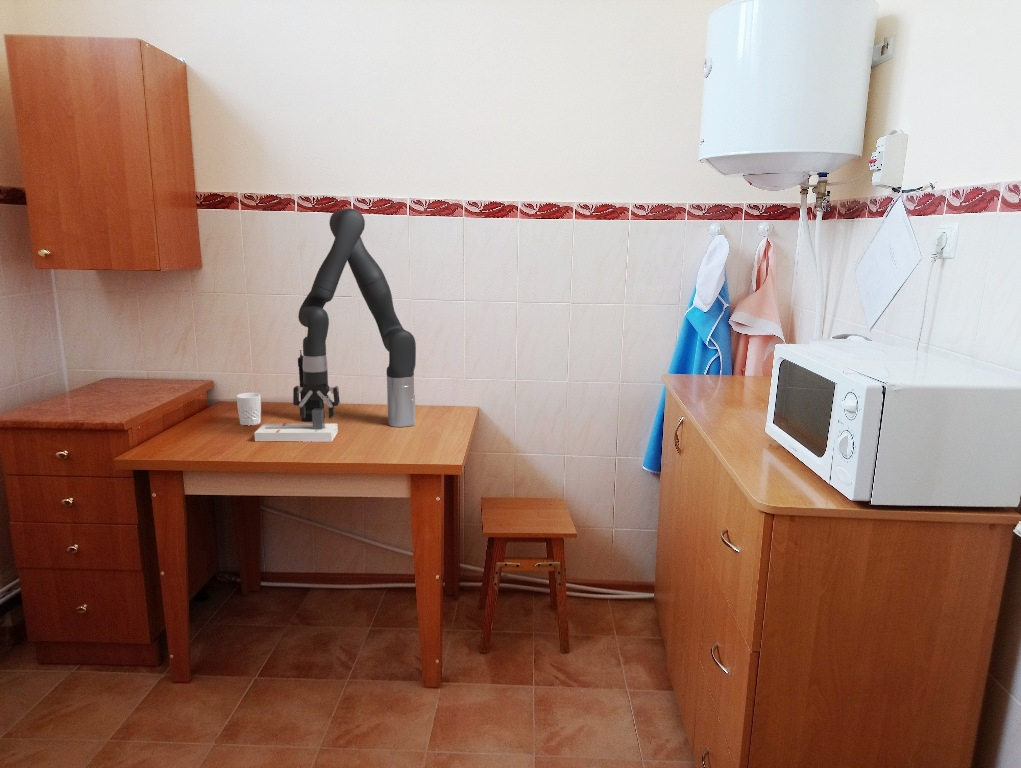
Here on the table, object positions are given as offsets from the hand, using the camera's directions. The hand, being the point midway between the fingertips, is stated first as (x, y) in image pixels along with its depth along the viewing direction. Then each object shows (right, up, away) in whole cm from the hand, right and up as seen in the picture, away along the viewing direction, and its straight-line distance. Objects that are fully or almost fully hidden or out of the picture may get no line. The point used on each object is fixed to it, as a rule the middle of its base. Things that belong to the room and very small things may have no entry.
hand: (317, 417), depth 222 cm
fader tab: (0, -3, +1) cm, 3 cm away
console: (-7, -6, +1) cm, 9 cm away
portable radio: (-7, -2, +21) cm, 22 cm away
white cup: (-27, -3, +16) cm, 32 cm away
